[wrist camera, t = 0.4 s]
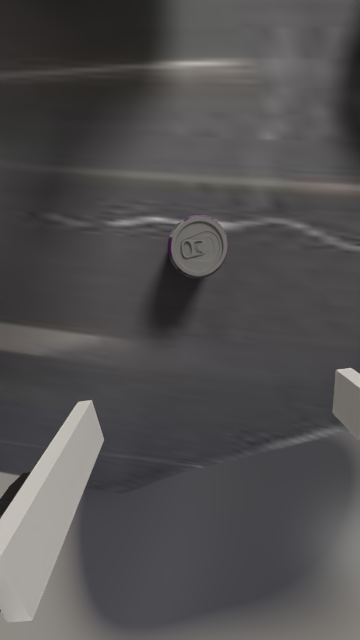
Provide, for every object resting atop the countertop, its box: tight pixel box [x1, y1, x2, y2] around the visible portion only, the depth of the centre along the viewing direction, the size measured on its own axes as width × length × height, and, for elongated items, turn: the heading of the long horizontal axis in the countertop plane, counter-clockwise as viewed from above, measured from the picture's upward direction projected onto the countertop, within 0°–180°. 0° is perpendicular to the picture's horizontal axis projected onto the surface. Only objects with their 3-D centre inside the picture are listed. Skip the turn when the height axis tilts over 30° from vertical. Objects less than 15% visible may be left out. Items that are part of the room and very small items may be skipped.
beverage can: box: [168, 215, 228, 278], centre depth 30 cm, size 7×7×12 cm
